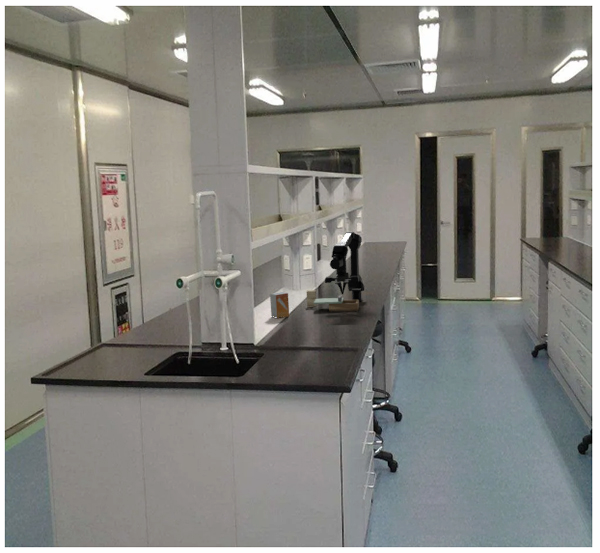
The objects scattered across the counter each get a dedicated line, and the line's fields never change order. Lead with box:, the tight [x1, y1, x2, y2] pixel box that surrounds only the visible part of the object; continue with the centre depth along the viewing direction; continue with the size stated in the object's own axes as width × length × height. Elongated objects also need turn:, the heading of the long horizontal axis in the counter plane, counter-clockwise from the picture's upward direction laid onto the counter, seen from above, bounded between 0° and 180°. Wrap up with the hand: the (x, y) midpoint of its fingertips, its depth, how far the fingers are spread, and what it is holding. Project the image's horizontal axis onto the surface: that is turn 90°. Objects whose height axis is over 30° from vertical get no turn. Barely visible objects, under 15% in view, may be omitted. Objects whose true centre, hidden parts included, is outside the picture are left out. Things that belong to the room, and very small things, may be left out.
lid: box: [314, 294, 345, 305], centre depth 337 cm, size 12×16×3 cm
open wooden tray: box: [328, 299, 360, 312], centre depth 336 cm, size 12×16×4 cm
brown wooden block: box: [306, 289, 318, 308], centre depth 350 cm, size 4×5×9 cm
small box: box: [269, 291, 290, 319], centre depth 325 cm, size 8×6×13 cm
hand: (342, 294), depth 335 cm, fingers closed
